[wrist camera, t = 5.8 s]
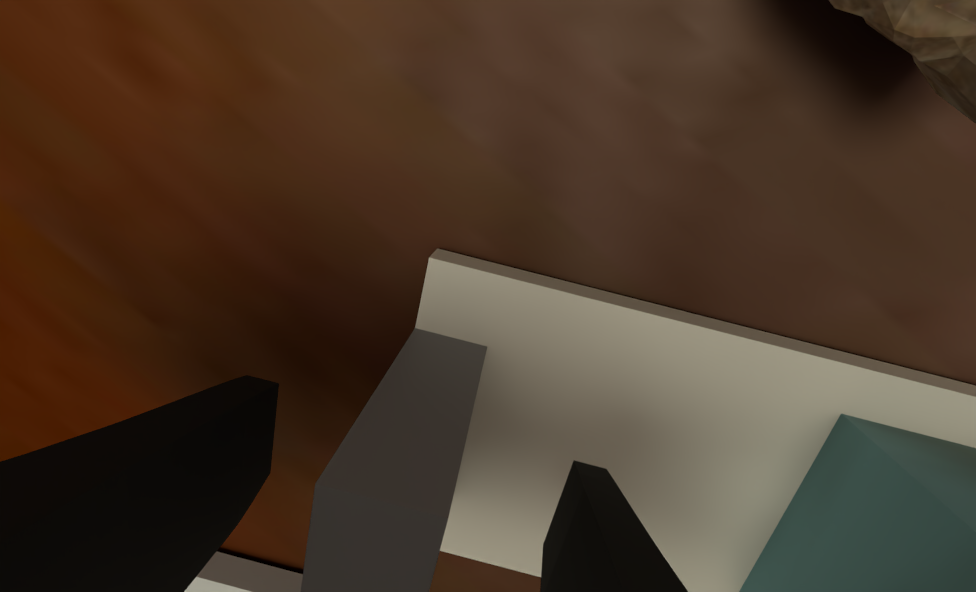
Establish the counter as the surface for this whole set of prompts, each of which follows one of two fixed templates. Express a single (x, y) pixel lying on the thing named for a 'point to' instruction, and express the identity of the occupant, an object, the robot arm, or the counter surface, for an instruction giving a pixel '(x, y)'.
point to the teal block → (876, 517)
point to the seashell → (930, 41)
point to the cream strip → (589, 430)
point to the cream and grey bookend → (243, 577)
